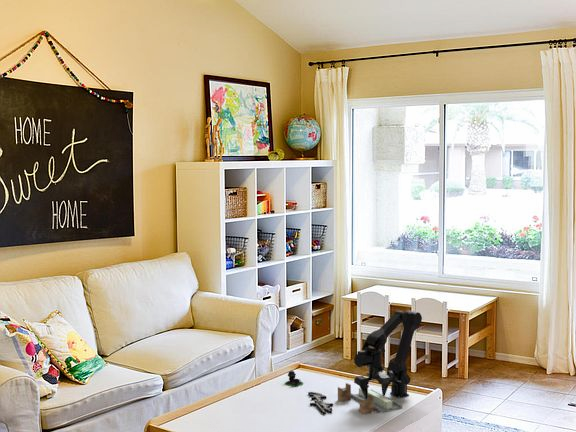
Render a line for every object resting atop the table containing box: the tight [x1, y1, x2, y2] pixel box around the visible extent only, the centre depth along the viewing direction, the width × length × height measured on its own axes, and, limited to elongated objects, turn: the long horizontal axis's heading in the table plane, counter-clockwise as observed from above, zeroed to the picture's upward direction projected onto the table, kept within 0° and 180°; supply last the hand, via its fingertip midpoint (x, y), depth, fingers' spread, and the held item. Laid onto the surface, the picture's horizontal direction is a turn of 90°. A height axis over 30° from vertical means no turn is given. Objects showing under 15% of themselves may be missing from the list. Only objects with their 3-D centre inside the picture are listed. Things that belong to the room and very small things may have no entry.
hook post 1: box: [337, 382, 352, 403], centre depth 324 cm, size 5×3×7 cm, turn 117°
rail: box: [358, 387, 392, 409], centre depth 321 cm, size 22×3×3 cm, turn 27°
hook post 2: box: [359, 395, 374, 415], centre depth 308 cm, size 5×3×7 cm, turn 117°
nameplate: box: [307, 391, 334, 416], centre depth 319 cm, size 28×2×10 cm
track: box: [351, 388, 403, 414], centre depth 321 cm, size 12×24×2 cm, turn 27°
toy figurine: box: [284, 370, 304, 388], centre depth 348 cm, size 10×10×6 cm
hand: (375, 397), depth 321 cm, fingers open, 9 cm apart
